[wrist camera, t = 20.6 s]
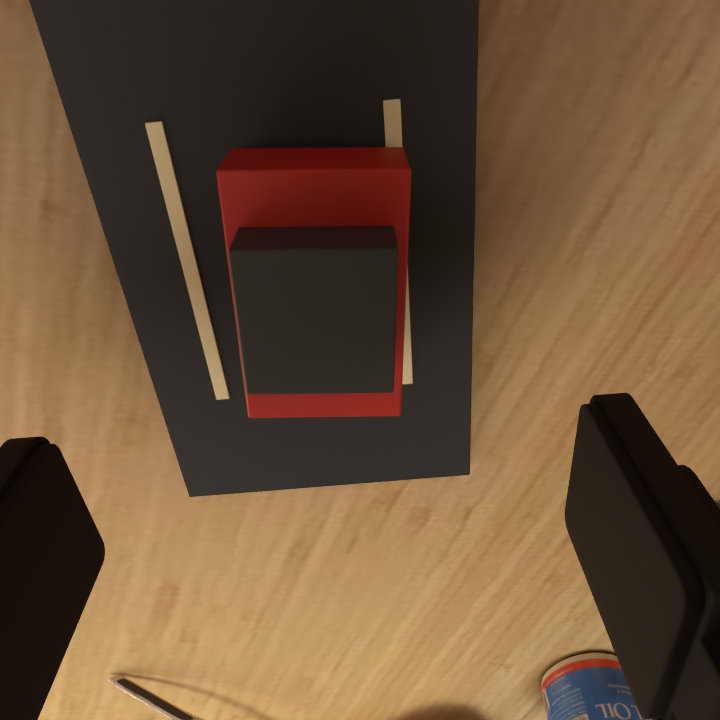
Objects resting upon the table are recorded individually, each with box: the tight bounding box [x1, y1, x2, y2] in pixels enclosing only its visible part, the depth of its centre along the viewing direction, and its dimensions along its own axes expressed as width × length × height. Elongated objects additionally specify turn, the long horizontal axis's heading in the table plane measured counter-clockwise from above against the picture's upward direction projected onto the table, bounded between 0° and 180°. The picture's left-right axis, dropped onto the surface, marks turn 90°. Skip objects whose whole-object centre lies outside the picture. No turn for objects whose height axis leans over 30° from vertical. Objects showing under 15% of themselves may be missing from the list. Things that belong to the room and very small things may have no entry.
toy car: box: [216, 147, 412, 418], centre depth 18 cm, size 8×5×5 cm
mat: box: [29, 0, 479, 497], centre depth 20 cm, size 20×12×1 cm, turn 5°
